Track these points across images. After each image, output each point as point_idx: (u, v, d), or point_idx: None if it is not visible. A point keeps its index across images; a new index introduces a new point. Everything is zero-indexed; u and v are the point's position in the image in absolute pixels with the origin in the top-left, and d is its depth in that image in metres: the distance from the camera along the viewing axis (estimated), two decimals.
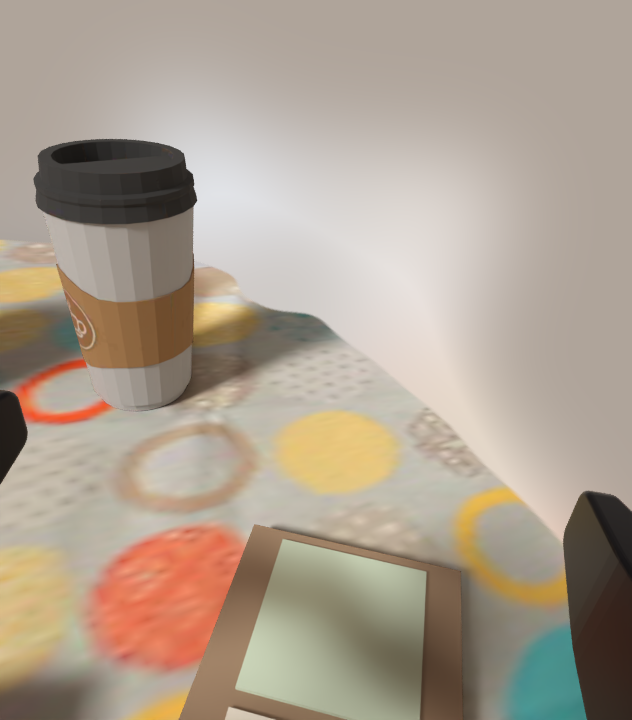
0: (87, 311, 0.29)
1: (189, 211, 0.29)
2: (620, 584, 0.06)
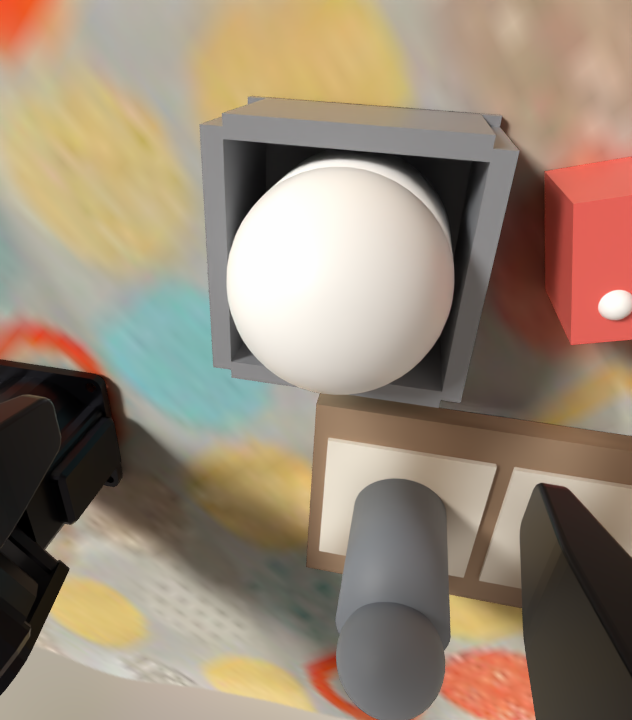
0: None
1: None
2: (562, 573, 0.06)
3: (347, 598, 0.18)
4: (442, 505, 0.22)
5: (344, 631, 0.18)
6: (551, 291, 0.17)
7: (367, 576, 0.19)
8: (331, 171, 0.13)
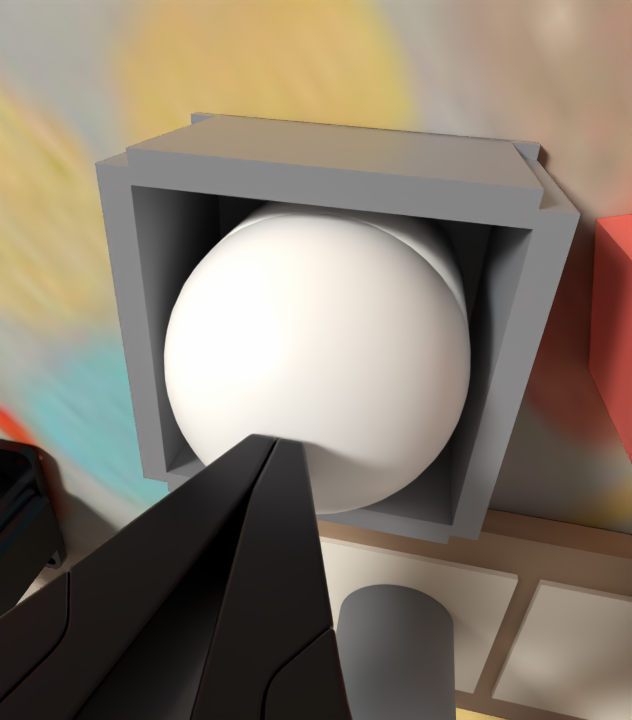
0: None
1: None
2: None
3: None
4: (448, 618, 0.18)
5: None
6: (600, 378, 0.13)
7: None
8: (302, 222, 0.09)
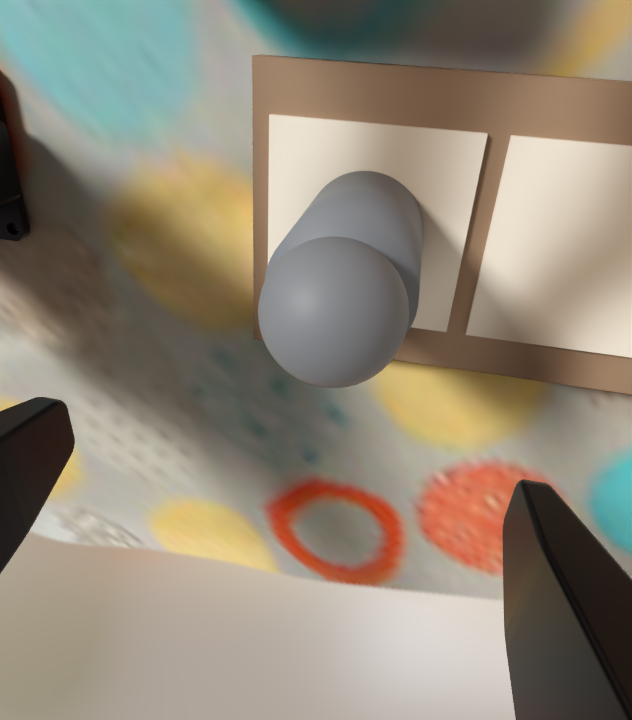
0: None
1: None
2: (540, 568, 0.06)
3: (278, 246, 0.13)
4: (417, 206, 0.17)
5: None
6: None
7: (306, 219, 0.14)
8: None
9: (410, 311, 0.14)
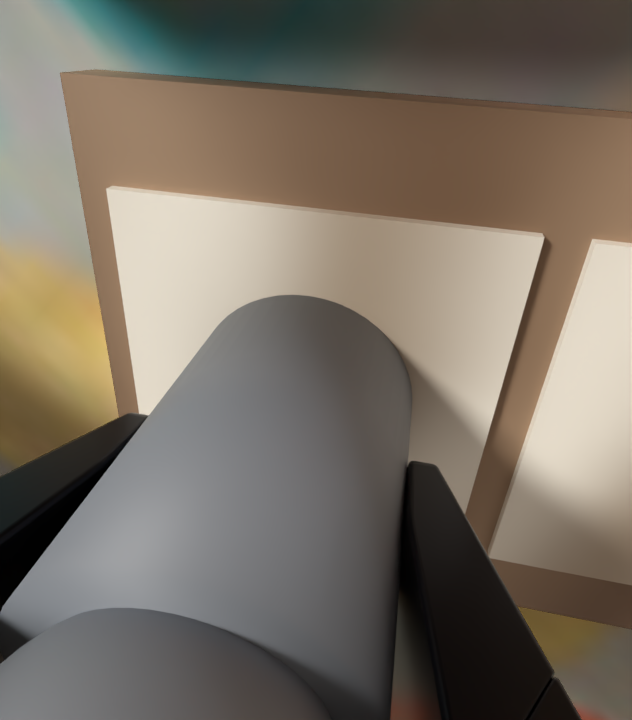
0: None
1: None
2: (406, 543, 0.06)
3: (13, 592, 0.05)
4: (400, 363, 0.09)
5: None
6: None
7: (93, 514, 0.05)
8: None
9: None
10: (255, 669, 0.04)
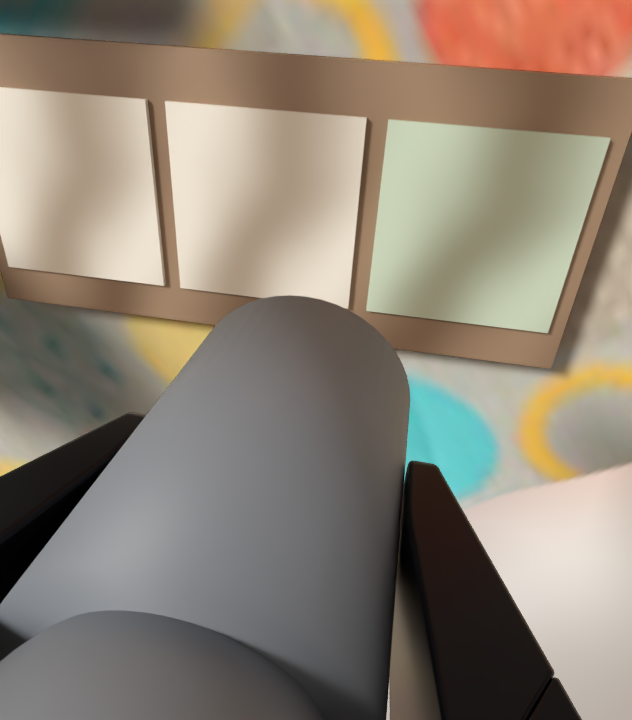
0: None
1: None
2: (406, 543, 0.06)
3: None
4: (397, 364, 0.09)
5: None
6: None
7: (88, 516, 0.05)
8: None
9: None
10: (249, 672, 0.04)
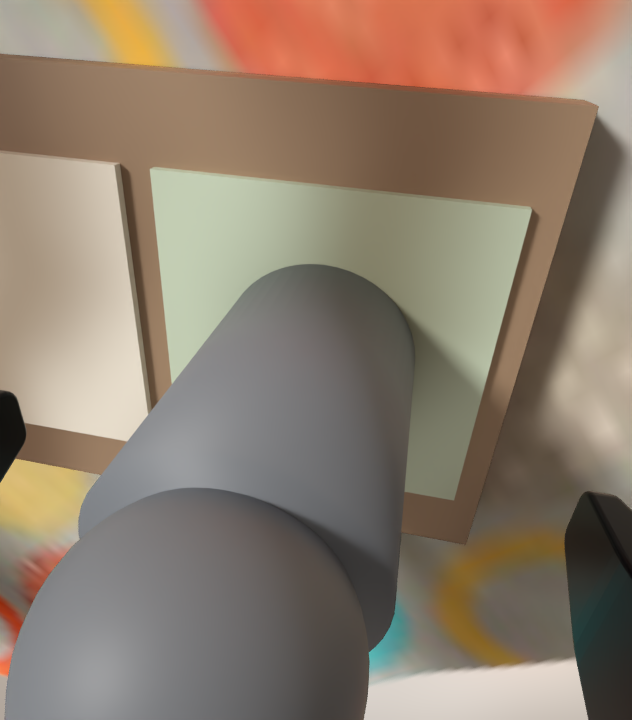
0: None
1: None
2: (622, 584, 0.06)
3: (95, 482, 0.06)
4: (404, 324, 0.10)
5: (50, 575, 0.06)
6: None
7: (158, 422, 0.06)
8: None
9: (378, 619, 0.06)
10: (293, 527, 0.05)
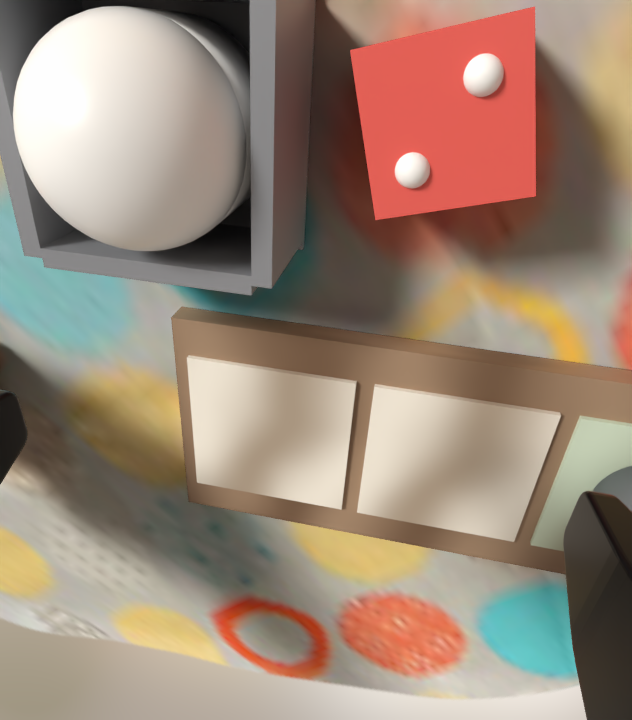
0: None
1: None
2: (620, 584, 0.06)
3: None
4: None
5: None
6: None
7: None
8: (104, 7, 0.13)
9: None
10: None
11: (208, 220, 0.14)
